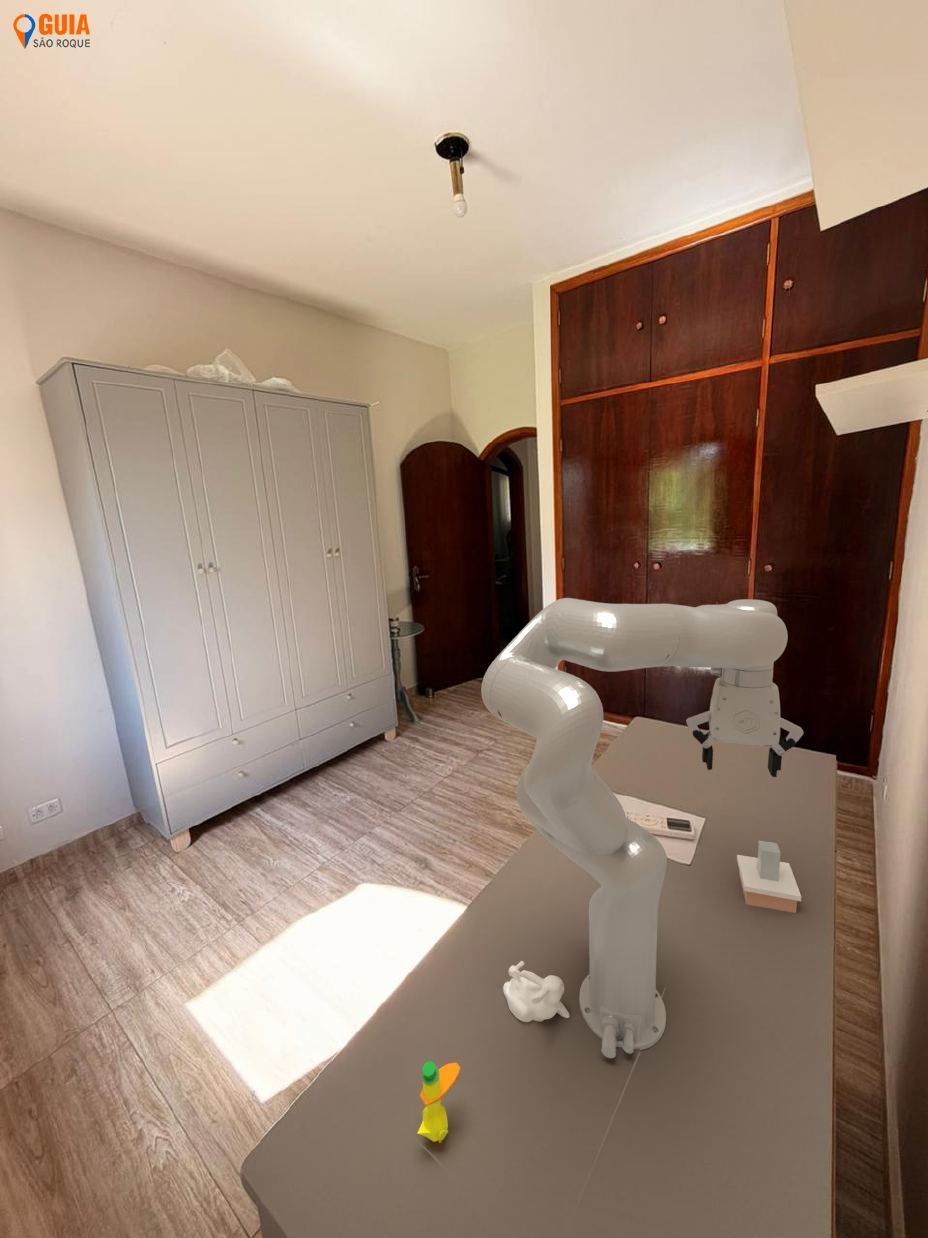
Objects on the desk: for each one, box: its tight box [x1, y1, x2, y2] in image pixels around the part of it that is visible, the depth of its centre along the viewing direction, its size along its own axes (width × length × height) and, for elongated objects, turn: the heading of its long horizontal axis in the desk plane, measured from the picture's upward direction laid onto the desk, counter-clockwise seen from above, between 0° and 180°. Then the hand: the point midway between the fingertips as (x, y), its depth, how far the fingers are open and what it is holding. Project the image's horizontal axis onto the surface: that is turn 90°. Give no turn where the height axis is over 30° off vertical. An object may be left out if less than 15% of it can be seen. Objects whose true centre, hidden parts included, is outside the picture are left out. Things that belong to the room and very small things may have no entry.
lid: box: [736, 840, 802, 902], centre depth 94 cm, size 9×9×7 cm
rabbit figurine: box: [502, 960, 570, 1023], centre depth 75 cm, size 12×8×10 cm, turn 53°
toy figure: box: [416, 1060, 461, 1144], centre depth 61 cm, size 7×4×12 cm, turn 130°
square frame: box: [738, 871, 798, 914], centre depth 96 cm, size 8×8×4 cm
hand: (739, 769), depth 86 cm, fingers open, 9 cm apart
